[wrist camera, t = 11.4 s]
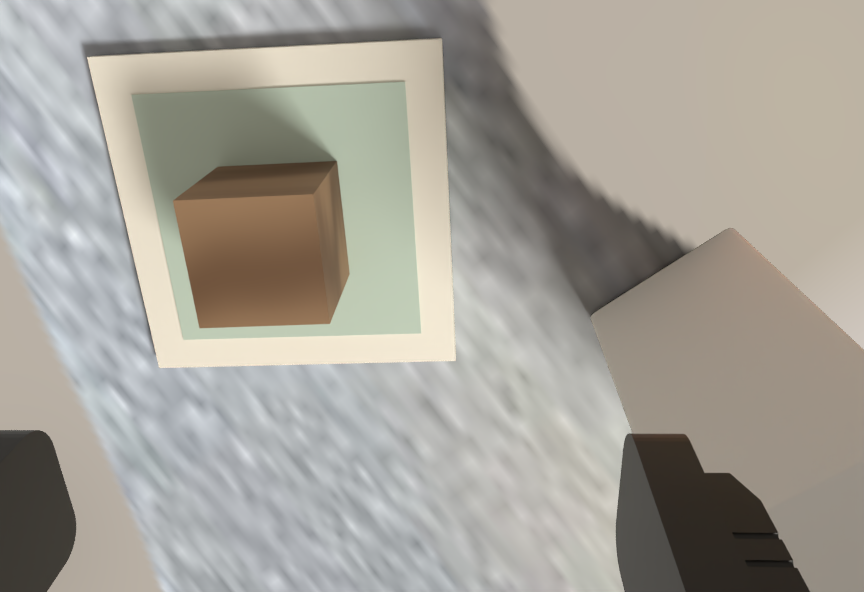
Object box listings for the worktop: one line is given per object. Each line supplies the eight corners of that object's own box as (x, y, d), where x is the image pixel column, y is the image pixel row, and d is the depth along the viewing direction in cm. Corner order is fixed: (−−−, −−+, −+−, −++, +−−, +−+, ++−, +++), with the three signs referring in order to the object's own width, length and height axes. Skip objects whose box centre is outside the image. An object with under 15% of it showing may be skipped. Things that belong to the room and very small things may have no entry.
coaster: (94, 55, 29) (85, 57, 28) (442, 37, 28) (441, 39, 27) (164, 361, 35) (158, 369, 34) (455, 354, 34) (455, 361, 33)
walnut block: (217, 166, 30) (172, 200, 25) (336, 160, 30) (313, 194, 25) (237, 278, 32) (199, 328, 27) (349, 273, 32) (329, 324, 27)
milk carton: (587, 314, 33) (726, 696, 15) (730, 224, 31) (1075, 545, 13) (668, 421, 35) (871, 865, 17) (806, 343, 33) (1192, 755, 15)
